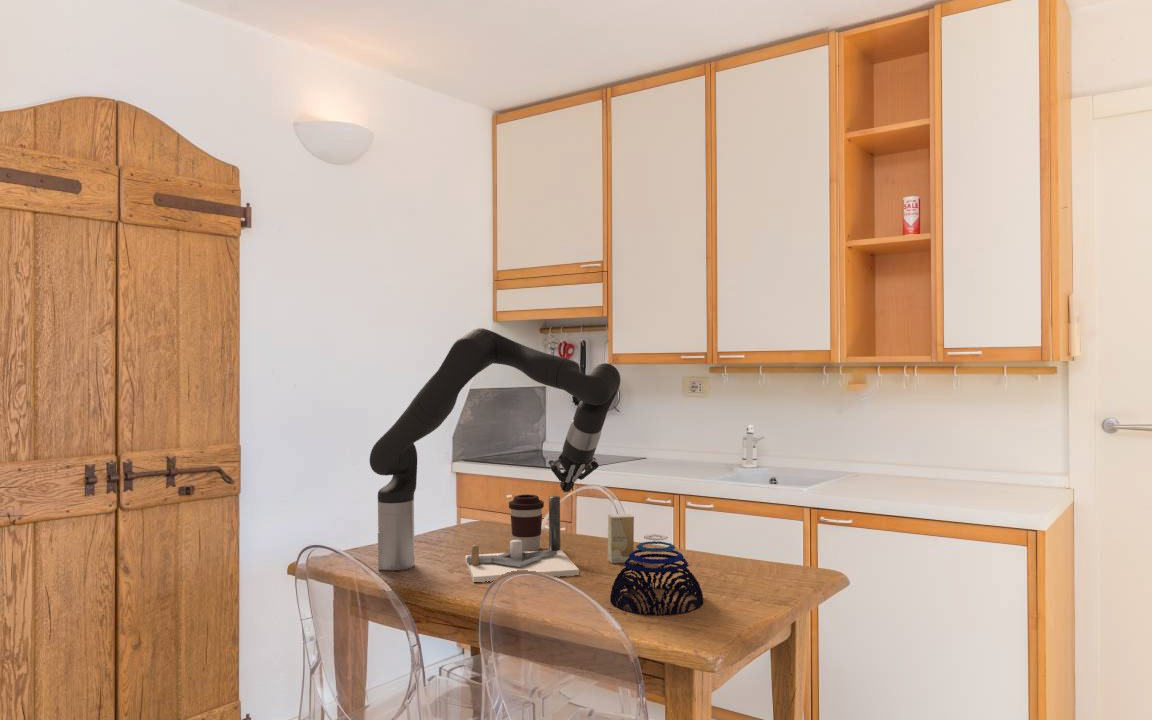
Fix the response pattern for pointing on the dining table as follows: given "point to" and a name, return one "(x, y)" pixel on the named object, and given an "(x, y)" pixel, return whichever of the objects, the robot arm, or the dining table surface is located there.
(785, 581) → the dining table surface
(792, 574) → the dining table surface
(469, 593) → the dining table surface
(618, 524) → the skincare box
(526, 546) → the coffee cup
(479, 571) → the post base
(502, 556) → the grey angle bracket
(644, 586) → the decorative bowl
